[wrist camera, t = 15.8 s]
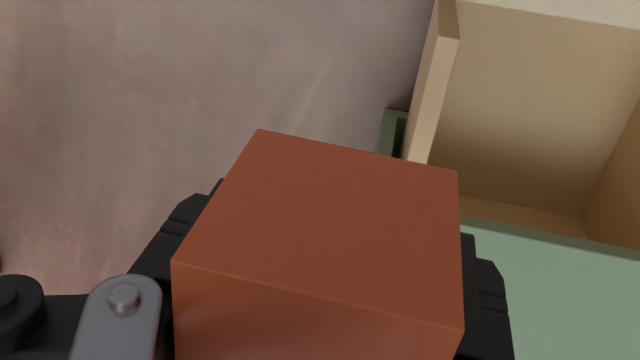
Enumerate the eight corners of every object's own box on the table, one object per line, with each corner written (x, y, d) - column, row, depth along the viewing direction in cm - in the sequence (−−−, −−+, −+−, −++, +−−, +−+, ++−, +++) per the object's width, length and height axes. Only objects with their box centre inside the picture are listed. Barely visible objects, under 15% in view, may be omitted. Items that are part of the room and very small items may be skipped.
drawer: (461, -194, 20) (472, -214, 14) (792, -150, 19) (971, -151, 13) (380, 178, 30) (365, 266, 24) (596, 222, 29) (642, 327, 23)
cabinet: (384, 107, 29) (364, 204, 21) (635, 154, 28) (715, 277, 20) (347, 291, 37) (322, 412, 29) (540, 334, 36) (569, 473, 28)
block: (257, 127, 12) (168, 260, 8) (458, 170, 11) (465, 331, 8) (247, 272, 14) (177, 425, 11) (411, 312, 14) (399, 485, 10)
